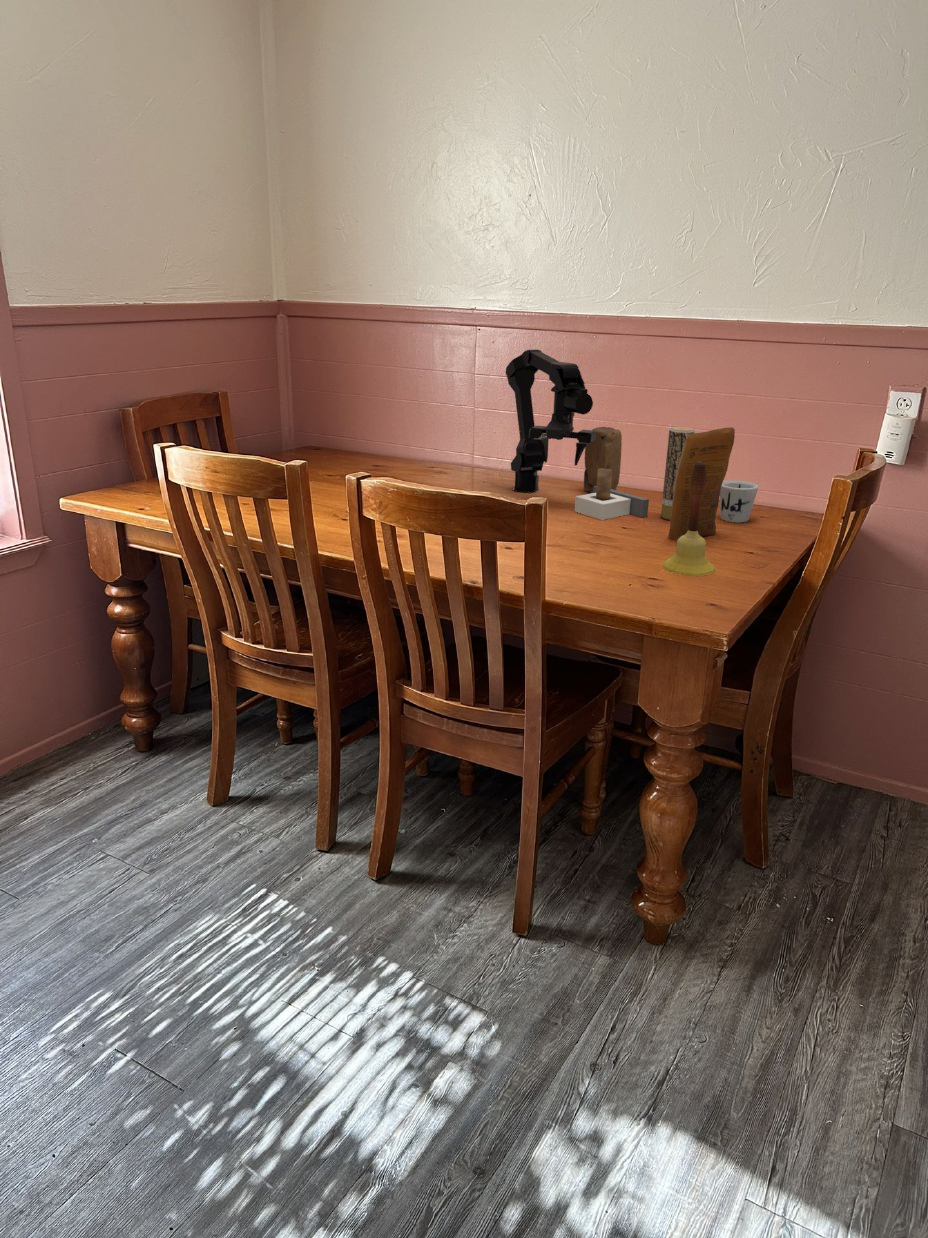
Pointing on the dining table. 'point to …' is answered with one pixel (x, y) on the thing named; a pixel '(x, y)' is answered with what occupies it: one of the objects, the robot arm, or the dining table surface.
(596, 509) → the hole block
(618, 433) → the block
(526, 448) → the robot arm
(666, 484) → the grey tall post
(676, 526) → the pancake mix bag
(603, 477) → the dowel
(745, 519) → the mug
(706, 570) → the handbell
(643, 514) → the backstop wall
